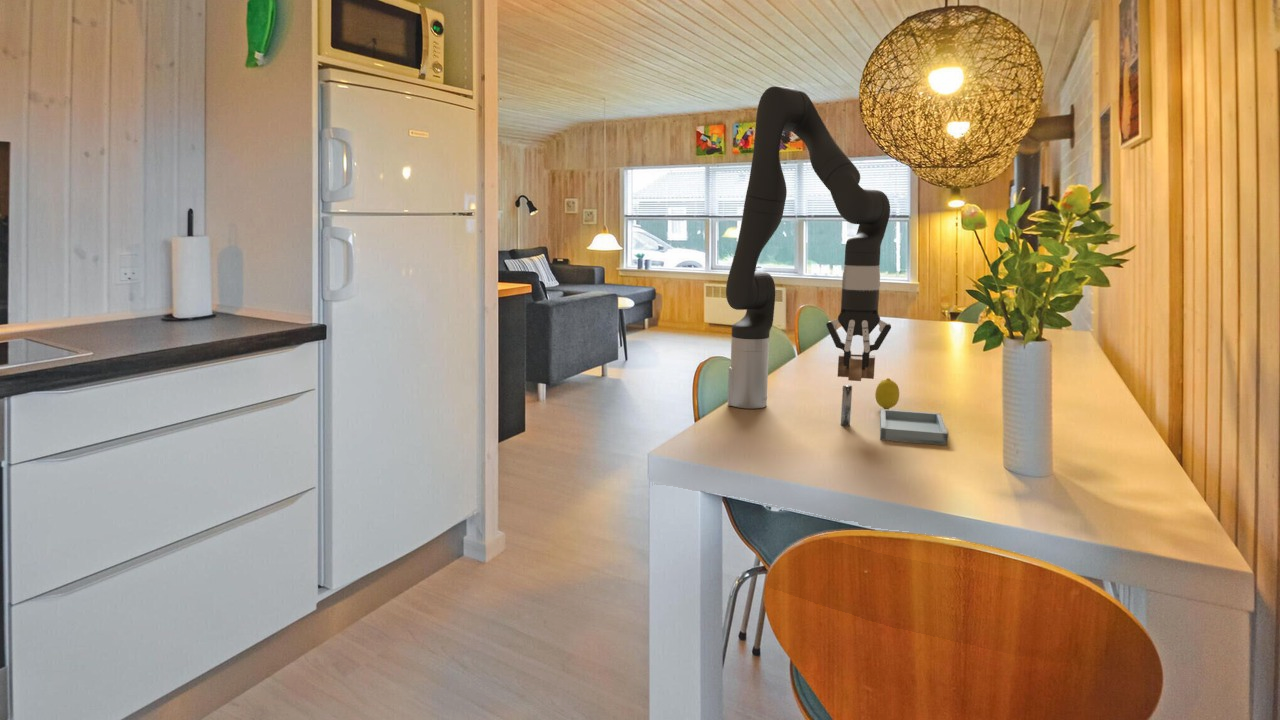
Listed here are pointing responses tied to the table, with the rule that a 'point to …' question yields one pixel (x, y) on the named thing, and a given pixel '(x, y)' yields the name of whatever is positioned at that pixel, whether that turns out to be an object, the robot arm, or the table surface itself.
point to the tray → (913, 427)
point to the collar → (856, 368)
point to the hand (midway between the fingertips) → (856, 368)
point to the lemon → (887, 393)
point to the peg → (846, 405)
